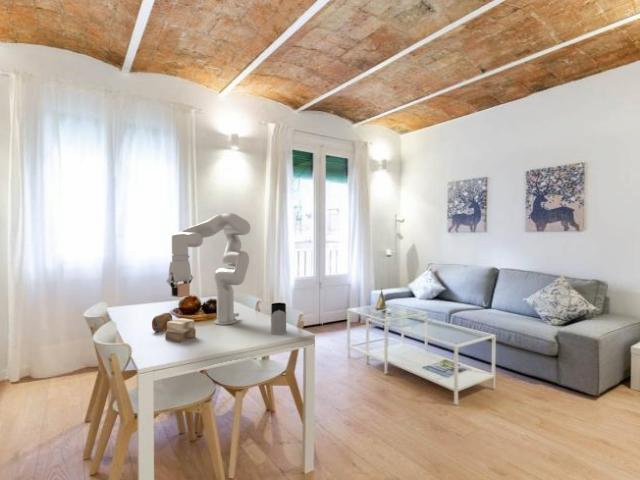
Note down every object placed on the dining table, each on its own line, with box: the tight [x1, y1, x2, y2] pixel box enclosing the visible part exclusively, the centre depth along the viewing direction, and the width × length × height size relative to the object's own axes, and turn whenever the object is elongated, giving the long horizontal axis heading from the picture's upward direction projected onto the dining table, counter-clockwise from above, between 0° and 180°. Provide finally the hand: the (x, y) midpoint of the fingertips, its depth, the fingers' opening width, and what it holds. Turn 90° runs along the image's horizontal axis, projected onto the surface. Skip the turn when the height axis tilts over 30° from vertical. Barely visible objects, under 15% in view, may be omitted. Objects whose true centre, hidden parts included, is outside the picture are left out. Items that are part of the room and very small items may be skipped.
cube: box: [170, 282, 191, 298], centre depth 187 cm, size 6×6×6 cm
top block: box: [166, 317, 195, 333], centre depth 187 cm, size 9×9×4 cm
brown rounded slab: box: [151, 312, 173, 333], centre depth 204 cm, size 15×3×8 cm, turn 168°
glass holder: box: [269, 302, 288, 336], centre depth 200 cm, size 9×14×15 cm, turn 9°
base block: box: [164, 328, 196, 344], centre depth 187 cm, size 10×10×4 cm
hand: (180, 294), depth 187 cm, fingers closed on cube, 6 cm apart
